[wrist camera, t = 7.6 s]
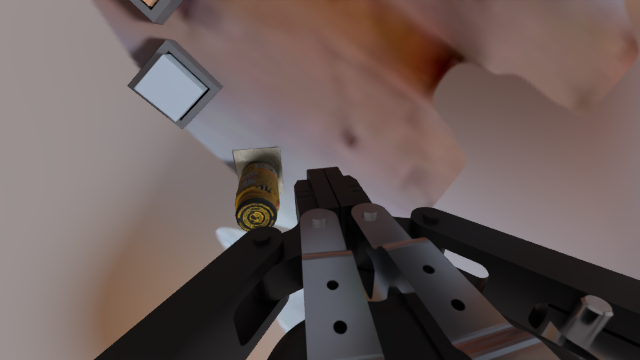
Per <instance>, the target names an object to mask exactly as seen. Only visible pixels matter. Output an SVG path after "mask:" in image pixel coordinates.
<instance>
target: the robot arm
mask: <svg viewBox="0 0 640 360" xmlns="http://www.w3.org/2000/svg"><path fill="white" fill-rule="evenodd" d="M294 192H295V205H296V215H297V221H298V224H297V225H296V226H295V227H294V228H292V229H291V230H289V231H286V232H284V233H281V231H280V230H278V229H277V228H274V227H269V226H264V227H258V228H255V229H252V230H250V231H248V232H247V233H246V234H245V235H243V236H242V237H241V238H240V239H239V240H237V241H236V242H235V243H234V244H233V245H231V246H230V247H229V248H228V249H227V250H225V251H224V252H223V253H222V254H221V255H220V256H218V257H217V258H216V259H214V260H213V261H212V262H211V263H210V264H208V265H207V266H206V267H205V268H204V269H202V270H201V271H200V272H199V273H198V274H196V275H195V276H194V277H193V278H192V279H190V280H189V281H188V282H187V283H186V284H184V285H183V286H182V287H181V288H180V289H178V290H177V291H176V292H175V293H174V294H172V295H171V296H170V297H169V298H168V299H166V300H165V301H164V302H163V303H162V304H160V305H159V306H158V307H157V308H156V309H154V310H153V311H152V312H151V313H149V314H148V315H147V316H146V317H145V318H144V319H142V320H141V321H140V322H139V323H138V324H136V325H135V326H134V327H133V328H131V329H130V330H129V331H128V332H127V333H126V334H124V335H123V336H122V337H121V338H119V339H118V340H117V341H116V342H115V343H113V345H111V346H110V347H109V348H107V349H106V350H105V351H104V352H103V353H102V354H100V355H99V356H98V357H97V358H95V359H94V360H246V359H247V357H248V356H249V354H250V353H251V352H252V350H253V349H254V348H255V346H256V345H257V343H258V342H259V341H260V339H261V338H262V336H263V335H264V334H265V332H266V331H267V330H268V328H269V327H270V325H271V324H272V322H273V321H274V320H275V319H276V317H277V316H278V314H279V313H280V312H281V310H282V309H283V307H284V306H285V305H286V303H287V302H288V299H289V295H290V294H292V293H294V292H296V291H298V290H300V289H302V288H304V306H305V320H303V321H302V322H300V323H298V324H297V325H296V326H294V327H293V328H292V329H290V330H289V331H288V332H287V333H286V334H285V335H284V336H283V337H282V338H281V340H280V341H279V342H278V343H277V345H276V346H275V348H274V349H273V351H272V352H271V354H270V356H269V357H268V359H267V360H640V280H637V279H634V278H631V277H629V276H626V275H623V274H620V273H617V272H614V271H612V270H609V269H605V268H603V267H600V266H597V265H595V264H592V263H589V262H586V261H583V260H580V259H577V258H575V257H572V256H569V255H566V254H563V253H560V252H558V251H555V250H552V249H549V248H546V247H543V246H541V245H538V244H535V243H532V242H529V241H526V240H523V239H521V238H518V237H515V236H512V235H509V234H506V233H503V232H501V231H498V230H495V229H492V228H489V227H486V226H484V225H481V224H478V223H475V222H472V221H469V220H467V219H464V218H461V217H458V216H455V215H452V214H450V213H447V212H444V211H441V210H438V209H435V208H430V207H420V208H416V209H414V210H413V211H412V213H411V217H410V218H401V217H392V216H391V215H390V213H389V212H388V211H387V210H386V209H385V208H384V207H382V206H380V205H377V204H373V203H372V202H371V201H370V199H369V198H368V196H367V195H366V193H365V192H364V191H363V189H362V187H361V186H360V184H359V183H358V181H357V180H356V179H355V178H353V177H351V176H350V175H347V176H343V175H342V173H341V171H340V170H339V168H338V167H329V168H323V169H322V168H319V169H308V170H307V180H297V182H296V184H295V185H294ZM445 249H447V250H449V251H451V252H453V253H456V254H458V255H460V256H463V257H465V258H467V259H470V260H472V261H474V262H477V263H479V264H481V265H483V267H485V268H486V270H487V271H488V273H489V276H488V277H486V278H479V277H476V276H474V275H472V274H470V273H468V272H465V271H463V270H461V269H459V268H457V267H455V266H454V265H453V264H452V263H451V262H450V261H449V260H448V259H447V258H446V257H445V256H444V251H445Z"/></svg>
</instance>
